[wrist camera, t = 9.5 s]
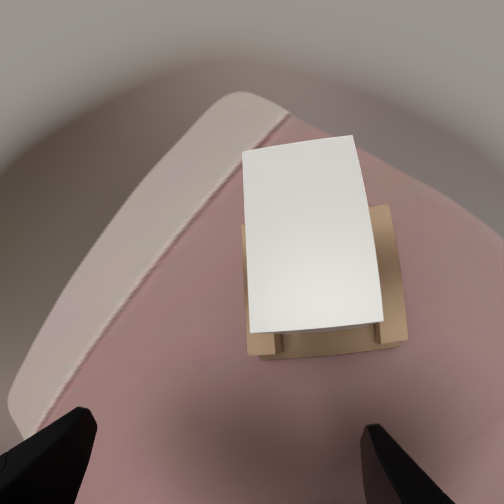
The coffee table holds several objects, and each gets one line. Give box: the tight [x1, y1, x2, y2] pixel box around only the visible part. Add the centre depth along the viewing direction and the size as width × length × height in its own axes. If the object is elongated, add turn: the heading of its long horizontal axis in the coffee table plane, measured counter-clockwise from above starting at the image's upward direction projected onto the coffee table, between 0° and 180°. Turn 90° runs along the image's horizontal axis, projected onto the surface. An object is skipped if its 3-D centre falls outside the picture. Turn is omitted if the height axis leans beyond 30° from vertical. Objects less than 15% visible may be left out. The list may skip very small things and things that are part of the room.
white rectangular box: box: [242, 135, 384, 334], centre depth 15 cm, size 6×4×12 cm, turn 3°
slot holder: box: [241, 205, 408, 360], centre depth 19 cm, size 9×9×4 cm
